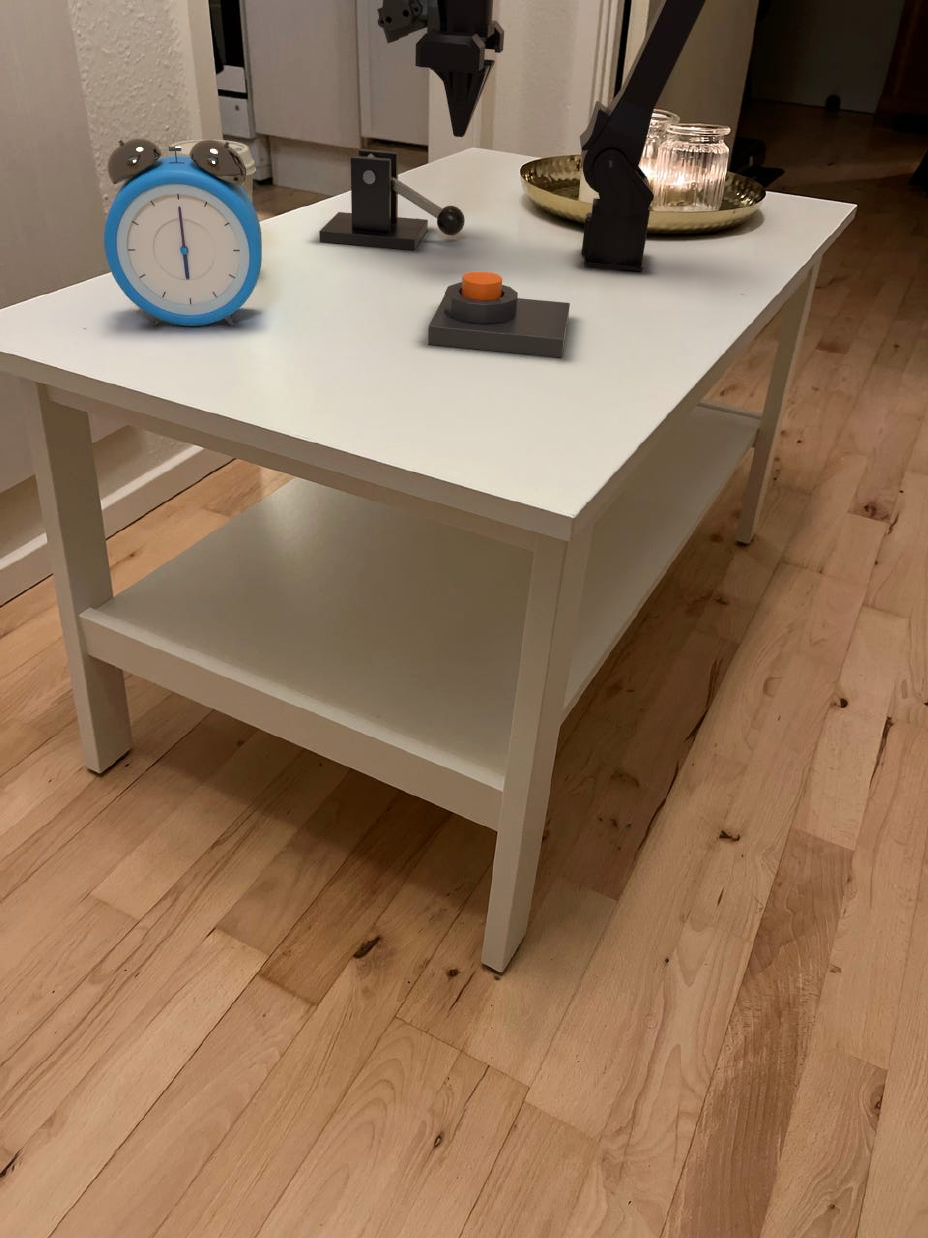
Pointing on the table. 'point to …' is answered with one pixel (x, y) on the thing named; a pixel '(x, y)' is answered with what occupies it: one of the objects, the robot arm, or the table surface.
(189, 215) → the alarm clock
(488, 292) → the button
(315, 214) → the table surface
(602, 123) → the robot arm
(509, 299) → the button block
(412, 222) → the bracket
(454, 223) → the lever
